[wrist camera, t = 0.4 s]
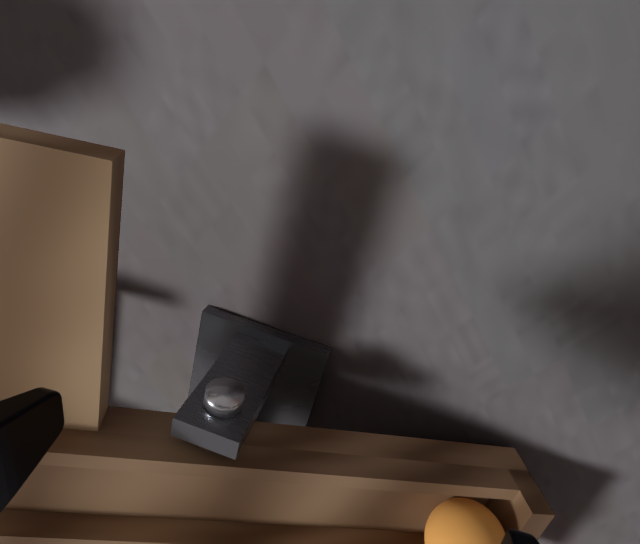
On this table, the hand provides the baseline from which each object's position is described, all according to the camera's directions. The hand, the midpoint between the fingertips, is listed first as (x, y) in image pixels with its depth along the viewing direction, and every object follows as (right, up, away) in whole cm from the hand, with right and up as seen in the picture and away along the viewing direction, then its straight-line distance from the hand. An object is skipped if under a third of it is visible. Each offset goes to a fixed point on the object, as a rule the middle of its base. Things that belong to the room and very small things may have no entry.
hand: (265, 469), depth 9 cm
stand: (-2, -2, +14) cm, 14 cm away
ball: (+7, -7, +10) cm, 14 cm away
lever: (0, 0, +8) cm, 8 cm away
